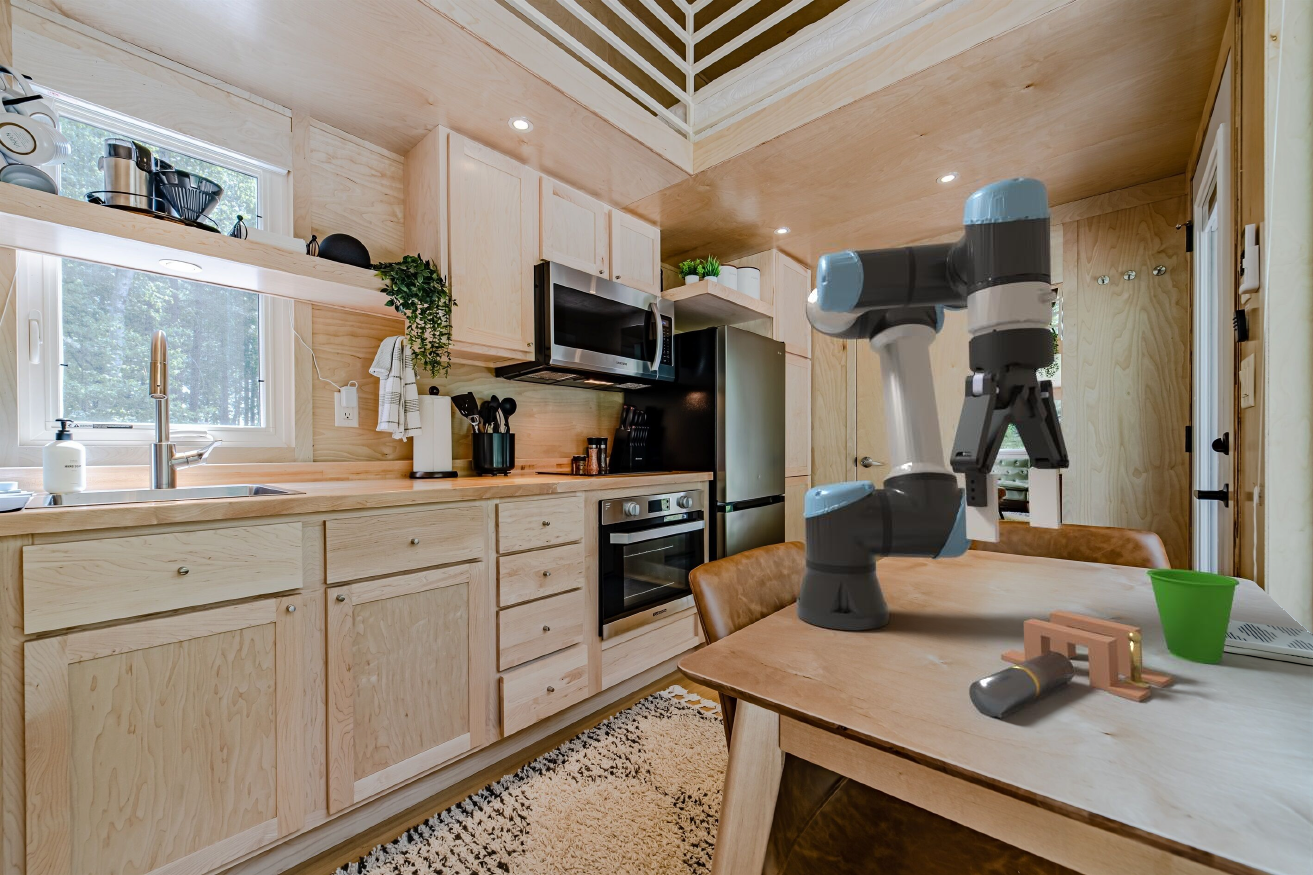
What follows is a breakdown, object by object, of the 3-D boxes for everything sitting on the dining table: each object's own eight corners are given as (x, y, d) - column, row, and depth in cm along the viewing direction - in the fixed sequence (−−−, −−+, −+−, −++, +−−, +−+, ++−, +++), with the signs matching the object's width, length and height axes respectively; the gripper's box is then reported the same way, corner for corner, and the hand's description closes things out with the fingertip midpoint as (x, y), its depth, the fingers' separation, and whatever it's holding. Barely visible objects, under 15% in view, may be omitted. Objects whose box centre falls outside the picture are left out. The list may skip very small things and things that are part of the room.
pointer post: (1119, 683, 66) (1117, 630, 66) (1128, 679, 67) (1125, 626, 67) (1144, 691, 63) (1142, 636, 64) (1153, 686, 65) (1150, 632, 65)
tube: (1003, 722, 57) (1002, 687, 57) (969, 708, 60) (968, 675, 60) (1075, 686, 65) (1074, 656, 65) (1041, 675, 68) (1040, 647, 68)
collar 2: (1027, 648, 77) (1026, 608, 77) (1039, 644, 79) (1037, 604, 79) (1162, 687, 64) (1161, 638, 65) (1173, 681, 66) (1171, 633, 66)
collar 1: (1001, 659, 74) (999, 616, 74) (1013, 654, 75) (1012, 612, 75) (1138, 701, 61) (1136, 650, 61) (1150, 695, 62) (1148, 645, 63)
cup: (1264, 672, 68) (1260, 585, 68) (1180, 667, 70) (1176, 582, 70) (1206, 646, 77) (1203, 569, 77) (1133, 642, 79) (1130, 567, 79)
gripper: (986, 310, 47) (994, 552, 46) (1099, 337, 60) (1106, 526, 60) (906, 327, 53) (913, 541, 53) (1025, 348, 67) (1031, 519, 66)
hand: (1015, 533), depth 56 cm, fingers open, 13 cm apart
